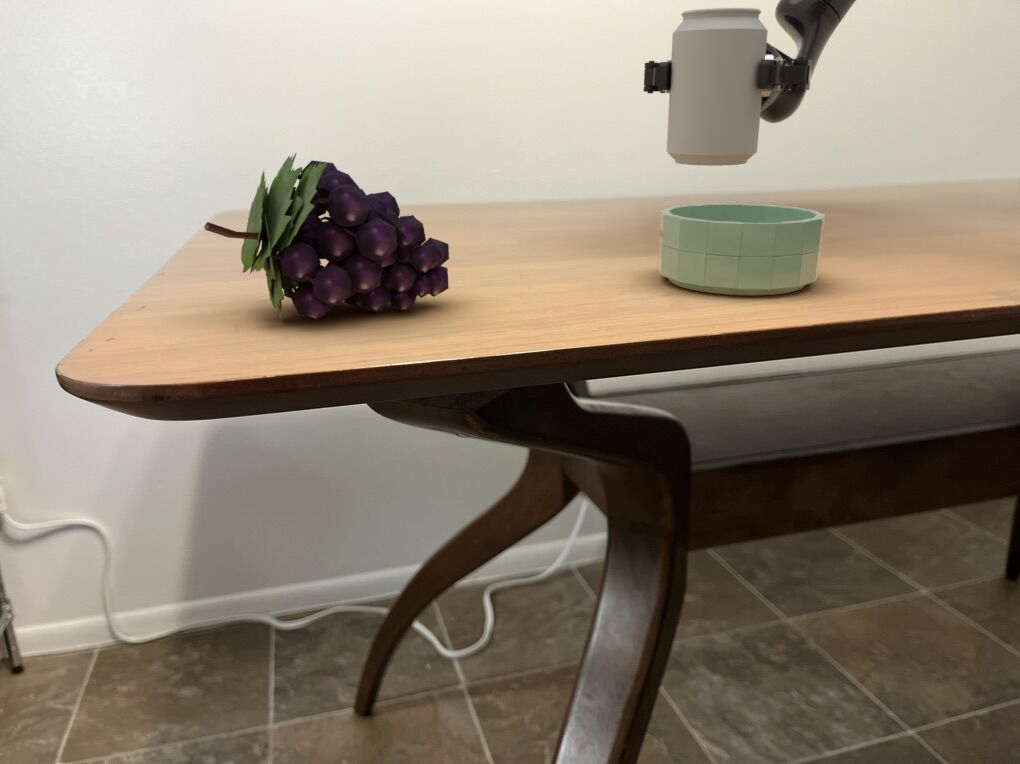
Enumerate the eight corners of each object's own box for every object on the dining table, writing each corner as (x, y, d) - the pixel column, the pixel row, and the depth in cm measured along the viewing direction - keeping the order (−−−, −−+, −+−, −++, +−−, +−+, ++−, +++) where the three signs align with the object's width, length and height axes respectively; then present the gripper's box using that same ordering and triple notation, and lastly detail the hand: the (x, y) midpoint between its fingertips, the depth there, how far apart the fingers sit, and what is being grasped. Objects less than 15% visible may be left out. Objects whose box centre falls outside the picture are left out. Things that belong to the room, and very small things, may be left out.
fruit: (447, 364, 51) (195, 331, 45) (407, 301, 60) (192, 266, 54) (492, 208, 48) (225, 147, 41) (443, 165, 56) (216, 110, 50)
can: (663, 166, 67) (671, 6, 63) (668, 158, 74) (676, 14, 70) (757, 166, 65) (772, 2, 61) (754, 159, 72) (767, 11, 68)
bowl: (791, 266, 65) (797, 203, 63) (837, 298, 54) (847, 223, 53) (650, 266, 65) (653, 203, 64) (669, 297, 55) (673, 223, 53)
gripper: (670, 38, 81) (627, 27, 67) (823, 33, 76) (812, 20, 61) (666, 117, 83) (624, 123, 69) (814, 118, 78) (801, 124, 64)
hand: (712, 75), depth 65 cm, fingers closed on can, 7 cm apart
